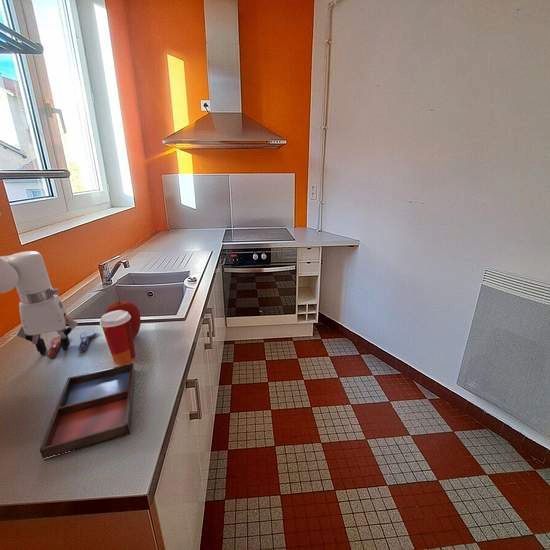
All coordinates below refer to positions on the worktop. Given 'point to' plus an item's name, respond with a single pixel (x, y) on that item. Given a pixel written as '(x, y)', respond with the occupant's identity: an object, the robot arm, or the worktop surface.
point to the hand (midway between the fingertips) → (55, 349)
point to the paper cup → (119, 336)
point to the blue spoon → (86, 339)
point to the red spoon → (54, 347)
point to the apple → (131, 310)
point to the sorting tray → (91, 410)
